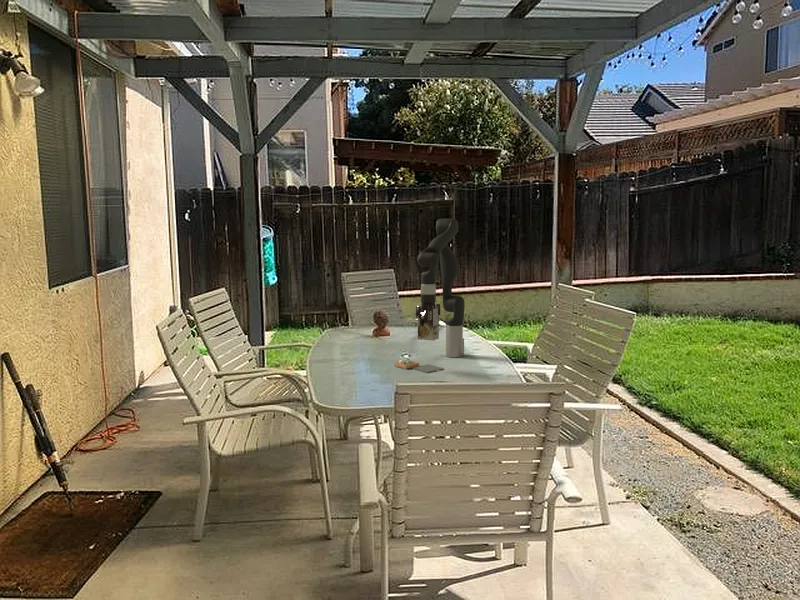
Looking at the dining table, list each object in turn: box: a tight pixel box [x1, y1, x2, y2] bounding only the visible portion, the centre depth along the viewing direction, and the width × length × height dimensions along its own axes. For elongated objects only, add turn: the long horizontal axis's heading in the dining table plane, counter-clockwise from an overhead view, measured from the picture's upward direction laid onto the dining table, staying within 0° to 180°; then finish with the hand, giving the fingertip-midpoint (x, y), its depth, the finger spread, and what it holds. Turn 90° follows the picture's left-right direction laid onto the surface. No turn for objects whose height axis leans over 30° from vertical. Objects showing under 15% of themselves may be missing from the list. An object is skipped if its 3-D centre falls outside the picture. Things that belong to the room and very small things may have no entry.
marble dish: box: [393, 359, 420, 370], centre depth 351 cm, size 9×9×2 cm
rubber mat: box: [411, 363, 445, 374], centre depth 346 cm, size 11×12×1 cm
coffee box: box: [417, 307, 440, 342], centre depth 343 cm, size 9×6×16 cm
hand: (428, 325), depth 343 cm, fingers closed on coffee box, 8 cm apart
